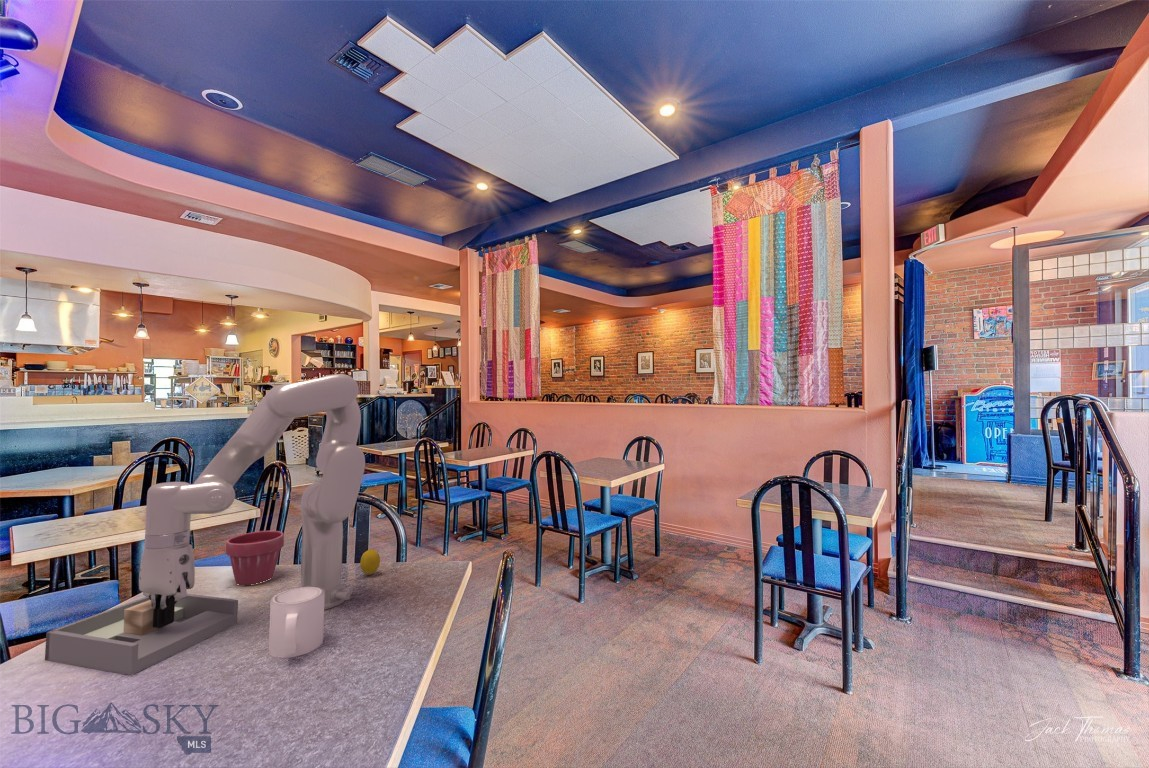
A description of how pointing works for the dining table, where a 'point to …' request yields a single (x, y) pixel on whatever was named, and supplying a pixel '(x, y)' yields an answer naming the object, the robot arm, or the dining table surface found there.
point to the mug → (296, 621)
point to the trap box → (123, 653)
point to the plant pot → (254, 555)
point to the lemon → (370, 561)
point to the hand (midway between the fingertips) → (163, 624)
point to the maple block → (139, 619)
